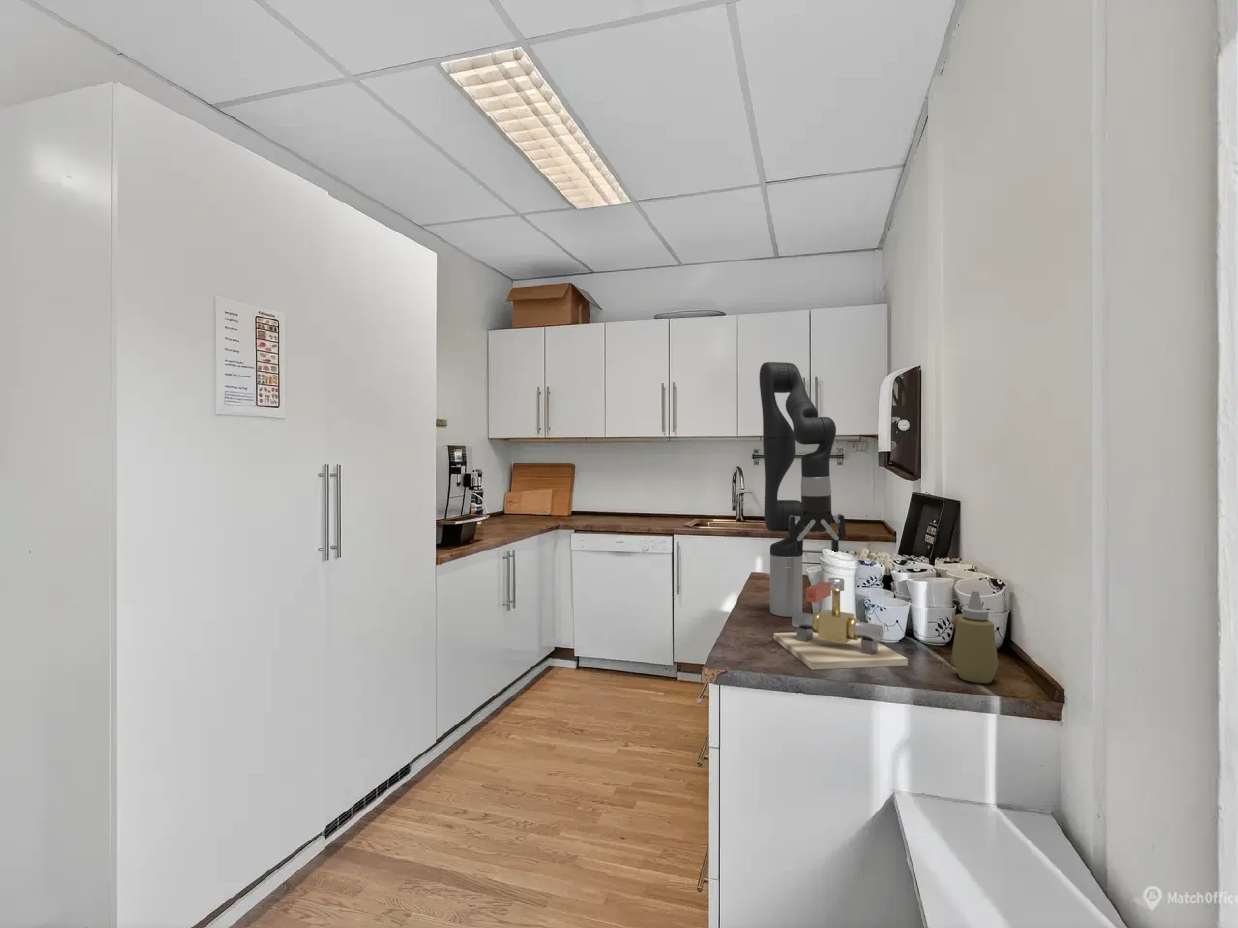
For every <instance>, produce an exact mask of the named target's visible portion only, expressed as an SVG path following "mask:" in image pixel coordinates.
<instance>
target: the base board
mask: <svg viewBox="0 0 1238 928" xmlns="http://www.w3.org/2000/svg"><path fill="white" fill-rule="evenodd" d="M861 639H862V638H858V640H852V639H851V640H850V641H849V642H847V643H842V642H837V641H831V640H826V639H821V638H818V633H814V631H813V638H812V639H811V640H809V641H807V642H803V641H798V640H797V631H795V632H792V631H791V632H774V633H773V641H775V642H776V643H778V644H779V645H780V646H782V648H784V649H785V650H786V651H788V652H789V653H790V654H791V655H792V656H794V657H795V658H796V659H798V660H799V661H800V662H801V663H802V664H804V665H805V666H807V667H808V668H809V669H811V670H833V669H835V670H836V669H855V668H856V669H858V668H879V667H880V668H881V667H907V666H909V663H908V662H909V659H908V657H905V656H904V655H902V654H900V653H898V652H896V651H894V649H891V648H890V647H887V646H886V645H884V644H882V643H881V642H878V650H877V651H876V652H875V653H874V654H873V655H870V654H865V653H861Z"/></svg>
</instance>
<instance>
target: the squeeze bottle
mask: <svg viewBox="0 0 1238 928" xmlns="http://www.w3.org/2000/svg"><path fill="white" fill-rule="evenodd" d="M961 608H962V609H961V610H962V611H961V614H962V616H964V617H961V618H959V619H957V626H956V634H955V633H954V636H955V643H954V651H953V661H954V663H955V666H956V667H955V666H954V667H955V668H956V672H957V674H958V677H959V678H960V679H961V680H964V681H968V682H971V683H978V684H989V683H992V682H993V679H994V676H995V675H996V672H997V670H998V667H999V661H998V659H999V658H998V651H997V642H996V641H997V640H996V632H995V624H994V623H993V622H992V620H989V610H988V609H986V608H983V605H982V601H981V597H980V592H979V590H978V591H977V590H972V591H971V593H970V598H969V602H968V605H967V606H963V607H961Z"/></svg>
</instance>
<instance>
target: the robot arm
mask: <svg viewBox="0 0 1238 928" xmlns="http://www.w3.org/2000/svg"><path fill="white" fill-rule="evenodd" d="M759 390H760V397H761V398H760V399H761V407H762V408H761V410H762V425H763V427H762V430H763V432H762V435H763V437H762V441H763V443H762V444H763V446H762V448H763V459H764V461H763V463H764V479H765V480H764V485H765V486H764V524H765V527H766V529H767V530H768V531H769V532H779V533H780V532H783V533H784V532H786V533H788V534H787V536H786V537H785V538H783V539H780V540H778V541H776V542H774V543H772V544H770V546H769V613H770V614H771V615H775V616H779V617H788V618H789V617H790V618H792V616H793V613H794V612H795V611H796V612H802V613H803V554H804V547H803V546H804V537H806V535H807V534H808V533H809V532H810V533H815V532H818V533H824V532H825V531H826V532H827V533H828V534H829V536H830V537H831V540H830V541H831V543H830V544H831V545H830V547H831V549H830V550H831V552H832V551H834V552H836V553H838V552H839V550H840V549H839V547H840V546H839V540H841V539H844V538H846V536H847V533H846V531H847V530H846V521H845V519H846V518H845V515H843V514H841V513H838V514H834V515H833V514H832V486H831V478H830V477H831V476H830V458H831V454H832V449H833V445H834V442H835V438H836V434H837V427H836V423H835V422H834V420H833V419H832V418H831V417H829V416H819V412H818V409H817V408H816V406H815V405H814V403H813V401H812V400H811V398H810V397H809V396H808V393H807V391H806V387H805V383H804V382H803V378H802V375H801V373H800V370H799V368H798V367H797V365H795V364H794V363H793V362H779V361H777V362H775V361H767V362H764V363H762V365H761V366H760V371H759ZM776 393H778V394H786V393H787V394H788V396H787V398H786V400H785V409H786V410H785V411H786V413H787V414H788V416H789V417H790V420H791V421H792V424H793V425H792V426H793V428H792V426H791V424H790V423H789V422H788V420H787V419H786V418H785V416H784V414H783V412H782V411H781V410H780V408H779V406H778V403H777V399H776ZM796 443H799V445H805V446H807V445H808V446H809V445H818V446H817V448H816V450H814V451H813V452H810V453H806V454H804V455H802V456H801V459H800V465H801V469H800V470H801V472H800V473H801V481H800V500H798V499H778V493H779V488H780V486H781V483H782V481H783V479H784V477H785V475H786V474H787V473H788V471H789V469H790V468H791V466H792V465H793V463H794V461H795V458H796ZM833 521H834V522H835V523H836V524H837V527H838V529H837V531H838V532H837V533H836V532H835V530H834V529H833V528H832V527H831V526H830V525H831V524H832V523H833Z"/></svg>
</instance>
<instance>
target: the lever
mask: <svg viewBox="0 0 1238 928" xmlns="http://www.w3.org/2000/svg"><path fill="white" fill-rule="evenodd" d="M832 591H840V592H844V591H845V578H843V577H841V578H840V577H828V578H827V581H819V582H817V583H814V584H812V585H810V586H807V587H806V588H805V602H808V603H809V602H810V603H815V604H816V603H819V602H821V601H823V600H824V599H826V598H829V597H831V596H832Z"/></svg>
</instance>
